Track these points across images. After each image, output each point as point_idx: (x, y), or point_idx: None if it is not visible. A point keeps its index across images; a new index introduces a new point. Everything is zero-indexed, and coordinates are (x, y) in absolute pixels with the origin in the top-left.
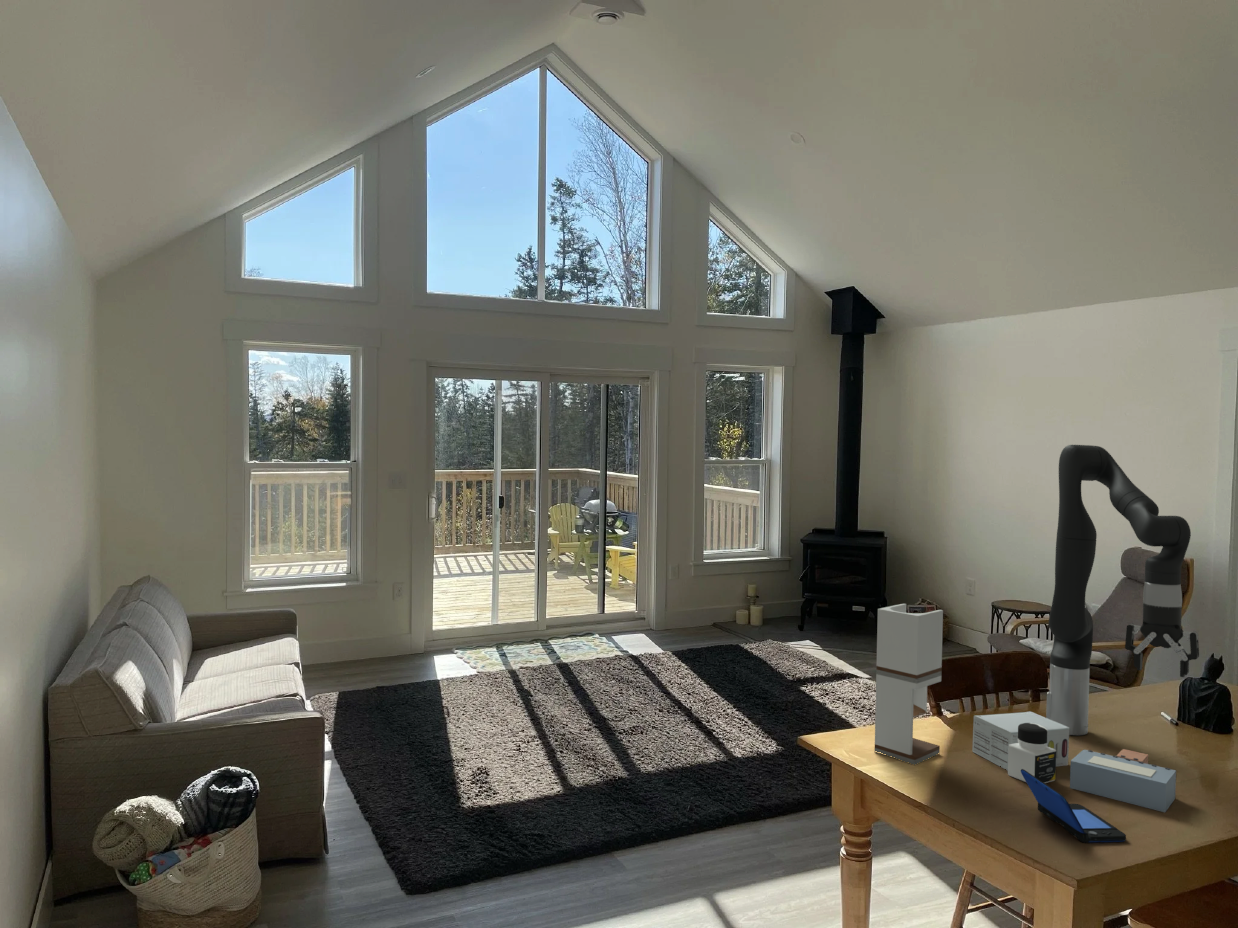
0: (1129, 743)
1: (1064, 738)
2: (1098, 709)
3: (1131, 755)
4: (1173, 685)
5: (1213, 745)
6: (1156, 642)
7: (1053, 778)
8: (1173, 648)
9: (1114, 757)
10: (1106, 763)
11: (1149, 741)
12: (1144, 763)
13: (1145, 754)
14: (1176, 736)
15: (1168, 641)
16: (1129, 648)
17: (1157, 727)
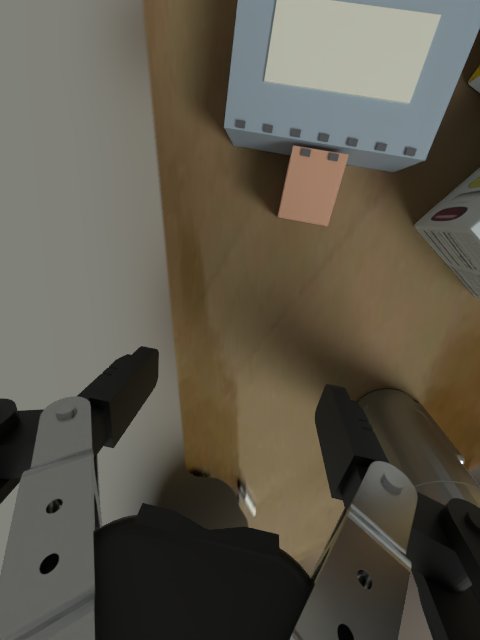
0: (296, 392)
1: (465, 212)
2: (327, 502)
3: (313, 182)
4: None
5: (197, 429)
6: (240, 588)
7: (478, 69)
8: (84, 484)
9: (354, 138)
10: (385, 42)
11: (269, 411)
12: (288, 136)
13: (283, 213)
14: (237, 443)
15: (77, 598)
16: (456, 512)
17: (259, 465)
